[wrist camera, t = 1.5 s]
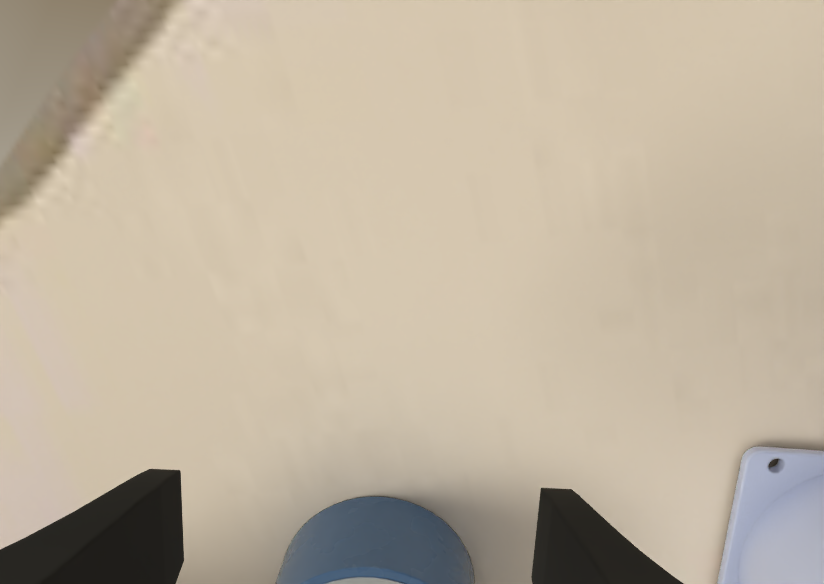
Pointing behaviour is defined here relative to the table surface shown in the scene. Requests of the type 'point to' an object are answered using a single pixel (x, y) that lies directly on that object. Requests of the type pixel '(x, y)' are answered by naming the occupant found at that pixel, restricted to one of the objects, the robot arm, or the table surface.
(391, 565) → the tin
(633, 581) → the robot arm
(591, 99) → the table surface
